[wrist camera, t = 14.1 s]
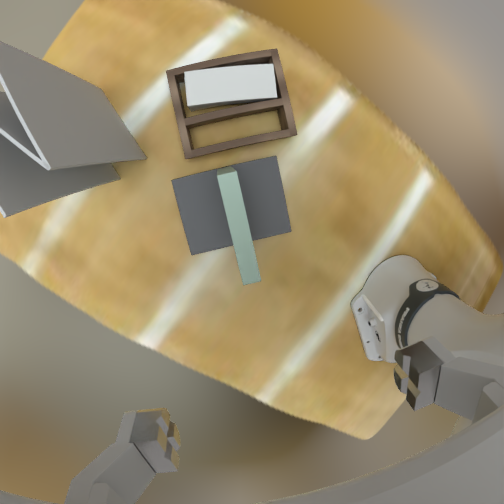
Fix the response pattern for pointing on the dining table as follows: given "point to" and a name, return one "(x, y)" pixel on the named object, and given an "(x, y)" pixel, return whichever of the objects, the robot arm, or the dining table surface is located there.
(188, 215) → the mat
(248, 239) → the block
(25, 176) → the brochure
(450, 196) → the dining table surface
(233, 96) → the offcut upper
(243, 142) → the rack
